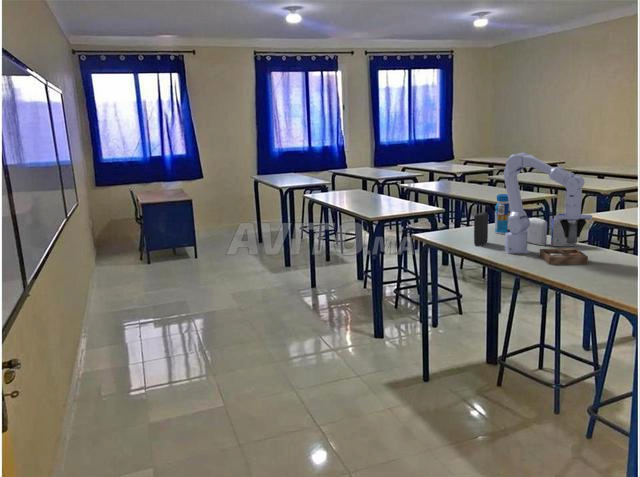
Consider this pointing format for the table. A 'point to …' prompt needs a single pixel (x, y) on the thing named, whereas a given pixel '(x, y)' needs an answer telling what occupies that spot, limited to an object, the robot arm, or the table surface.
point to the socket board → (563, 256)
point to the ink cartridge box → (559, 233)
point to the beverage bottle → (502, 214)
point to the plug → (572, 233)
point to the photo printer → (537, 231)
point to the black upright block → (481, 228)
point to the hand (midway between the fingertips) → (571, 237)
